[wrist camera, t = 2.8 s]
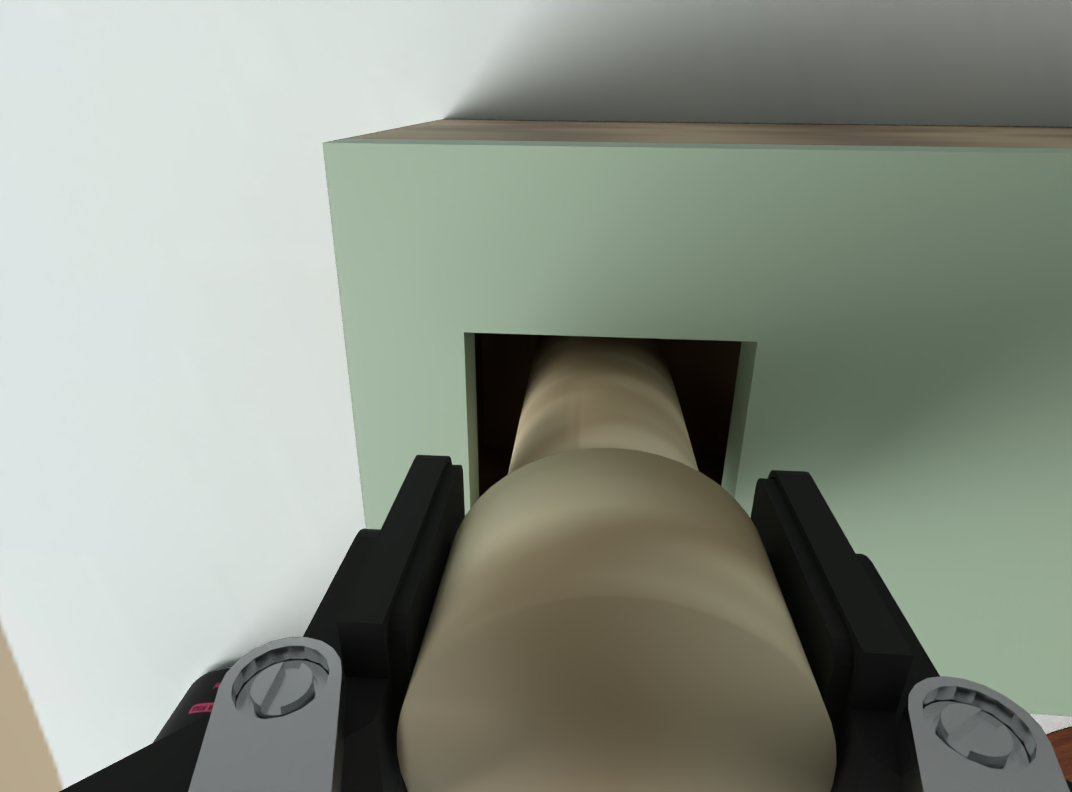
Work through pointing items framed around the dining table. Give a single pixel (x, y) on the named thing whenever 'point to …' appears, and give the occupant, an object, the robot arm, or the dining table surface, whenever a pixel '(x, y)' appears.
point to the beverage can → (195, 702)
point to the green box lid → (762, 340)
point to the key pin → (610, 611)
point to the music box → (1063, 750)
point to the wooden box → (694, 364)
